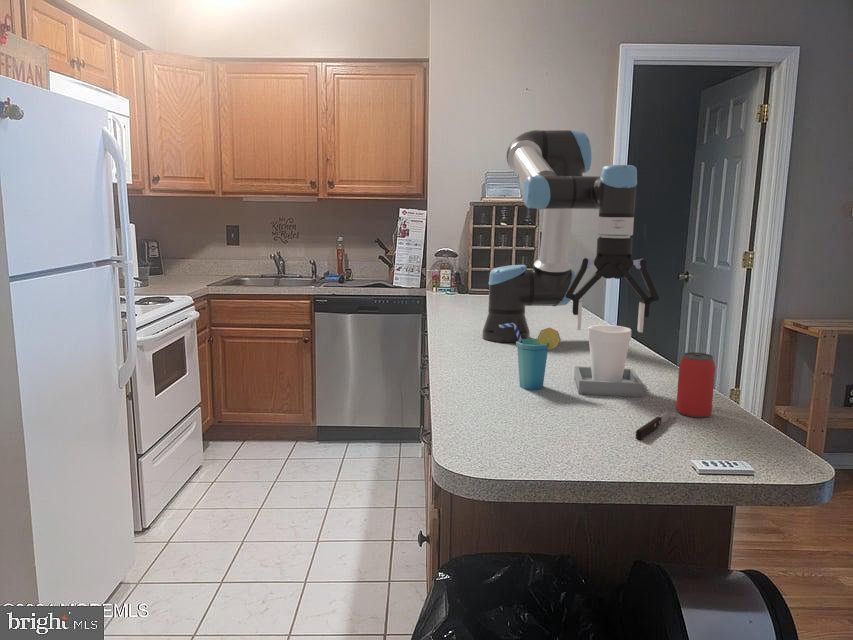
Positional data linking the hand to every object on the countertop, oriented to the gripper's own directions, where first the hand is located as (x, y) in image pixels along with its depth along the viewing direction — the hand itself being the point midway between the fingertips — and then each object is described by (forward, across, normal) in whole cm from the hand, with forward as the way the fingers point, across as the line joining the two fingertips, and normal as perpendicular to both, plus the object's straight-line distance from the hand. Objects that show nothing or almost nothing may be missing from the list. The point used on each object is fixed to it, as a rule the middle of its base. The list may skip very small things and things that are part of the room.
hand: (609, 330), depth 140 cm
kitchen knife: (+13, +6, -27) cm, 31 cm away
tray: (+13, 0, -1) cm, 13 cm away
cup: (+14, -18, -4) cm, 23 cm away
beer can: (+13, +15, -17) cm, 26 cm away
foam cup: (+13, 0, -1) cm, 13 cm away
